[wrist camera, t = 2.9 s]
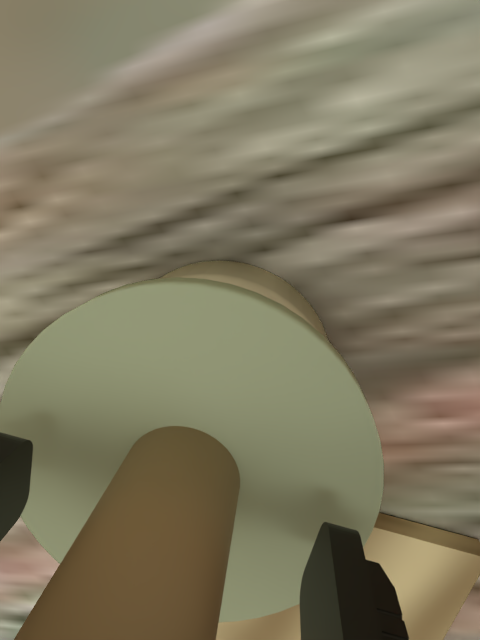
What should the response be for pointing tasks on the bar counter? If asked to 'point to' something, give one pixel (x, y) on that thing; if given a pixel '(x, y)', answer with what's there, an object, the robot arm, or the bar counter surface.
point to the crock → (252, 285)
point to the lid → (185, 459)
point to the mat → (396, 581)
